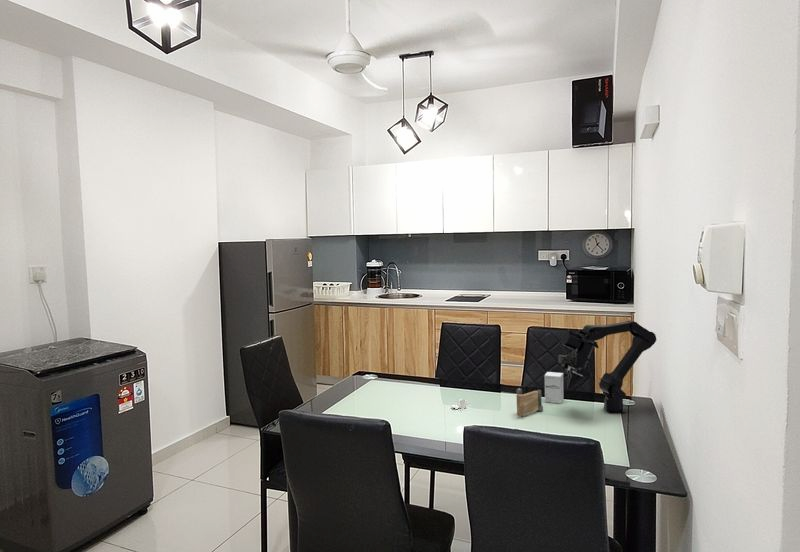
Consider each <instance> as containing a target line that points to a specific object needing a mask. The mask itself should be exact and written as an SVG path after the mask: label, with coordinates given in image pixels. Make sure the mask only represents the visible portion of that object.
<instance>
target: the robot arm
mask: <svg viewBox="0 0 800 552" xmlns="http://www.w3.org/2000/svg"><path fill="white" fill-rule="evenodd" d="M627 332H629V333H630V335H632V336H633V337H632V341H631V346H630V348H628V349H627V351H626V352H625V354H624V356H623V357H622V358H621V359H620V361H619V362H618V364H617V365H616V366H615V368H614V369H613V370H612V372H611V371H610V373H609V372H604V374H603V375H602V377H601V378H599V382H598V385H599V386H598V387H599V389H600V390H601V392H602V394H603V395H604V399H603V409H604V410H605V411H606V412H608V413H609V414H622V413H623V414H624V413H625V410H624V402H623V401H624V399H625V398H626V395H627V393H626V392H625V391H624V390H623V389H622V387H623V385H624V378H625V377H626V375H627V374H628V372H630V370H631V369H632V367H633V366H634V365H635V363H636V362H637V360H638V359H639V358H640V356H641V355H642V354H643V352H645V351H647V350H649V349H650V348H651V347H653V345H655V343H656V342H657V335H656V334H655V332H653V331H650V330H648V329H647V328H645V327H643V326H642V325H640V324H639V323H638V322H637V321H635V320H626V321H622V322H615V323H610V324H603V325H602V324H599V325H597V324H586V325H584V326H583V328H582V329H581V330H579V331H577V332H574V331H572V330H570V329H567V331H566V332H564V333H563V334H562V336H561V337H560V344H561V345H562V346H565V347H567V348H569V349H571V350H573V351H575V352H572V353H571V354H565V355H563V354H558V363H559V364H561V365H560V367H562V368H565V371H566V373H567V382H566V389H568V390H571V389H572V388H573V387H574V386H575V385H576V384H578V383H579V382H580V381H581V380H582V379H584V378H585V377H586V378H588V379H590V380H591V379H592V376H593V374H592V372H591V371H590V370H588V369H587V368H586V366H587V363H588V362H589V363H590V361H591V359H590V356H591V355H592V352H593V349H594V348H596V349H599V345H598V342H597V341H599V340H601V339H604V338H605V337H607V336H610V335H611V336H612V335H615V334H621V333H622V334H623V333H627Z"/></svg>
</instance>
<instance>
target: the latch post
mask: <svg viewBox="0 0 800 552" xmlns="http://www.w3.org/2000/svg"><path fill="white" fill-rule="evenodd" d="M518 394H521V395H523V389H522V388H520V387H518V388H516V396H517V395H518Z"/></svg>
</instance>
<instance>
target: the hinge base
mask: <svg viewBox="0 0 800 552" xmlns="http://www.w3.org/2000/svg"><path fill="white" fill-rule="evenodd" d="M536 412H540V413H541V412H544V406H543V405H542V406H538V410H537V411H536Z"/></svg>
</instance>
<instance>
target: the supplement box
mask: <svg viewBox="0 0 800 552" xmlns="http://www.w3.org/2000/svg"><path fill="white" fill-rule="evenodd" d="M563 401H564V372H554V371H546V373H545V374H544V403H553V404H562V403H563Z"/></svg>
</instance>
